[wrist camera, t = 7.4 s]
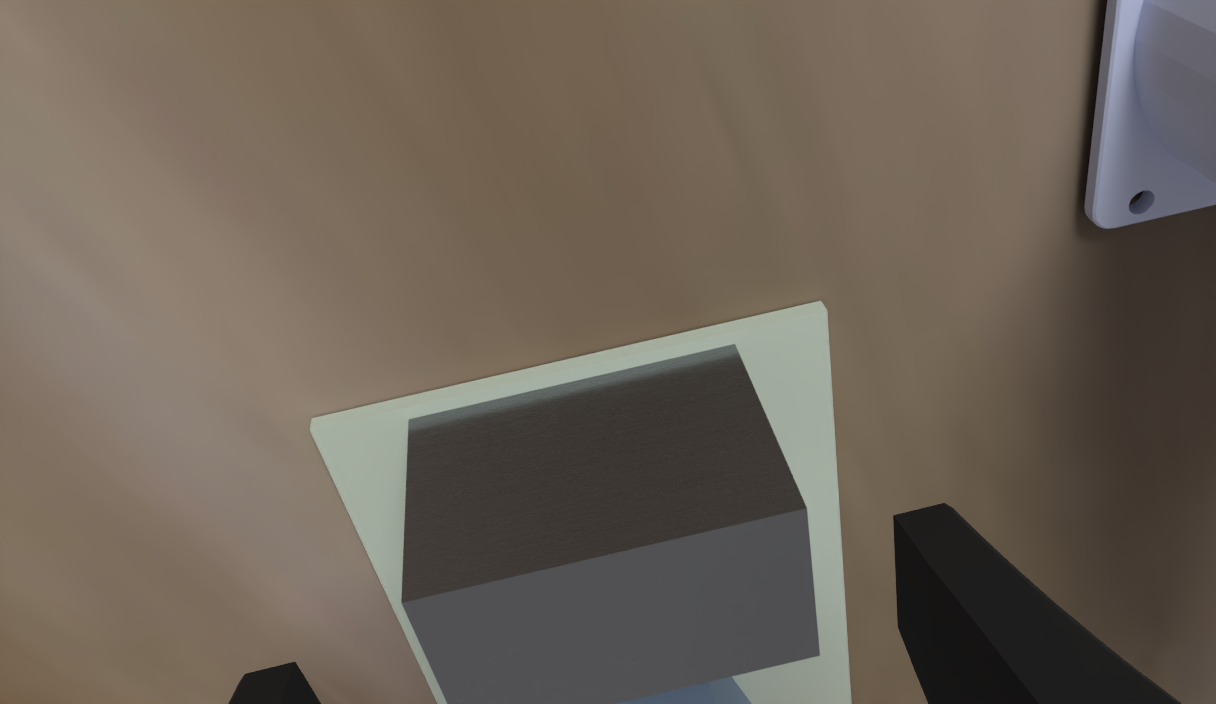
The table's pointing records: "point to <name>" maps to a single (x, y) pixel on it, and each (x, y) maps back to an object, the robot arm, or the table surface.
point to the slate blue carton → (699, 694)
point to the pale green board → (768, 345)
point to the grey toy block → (606, 538)
